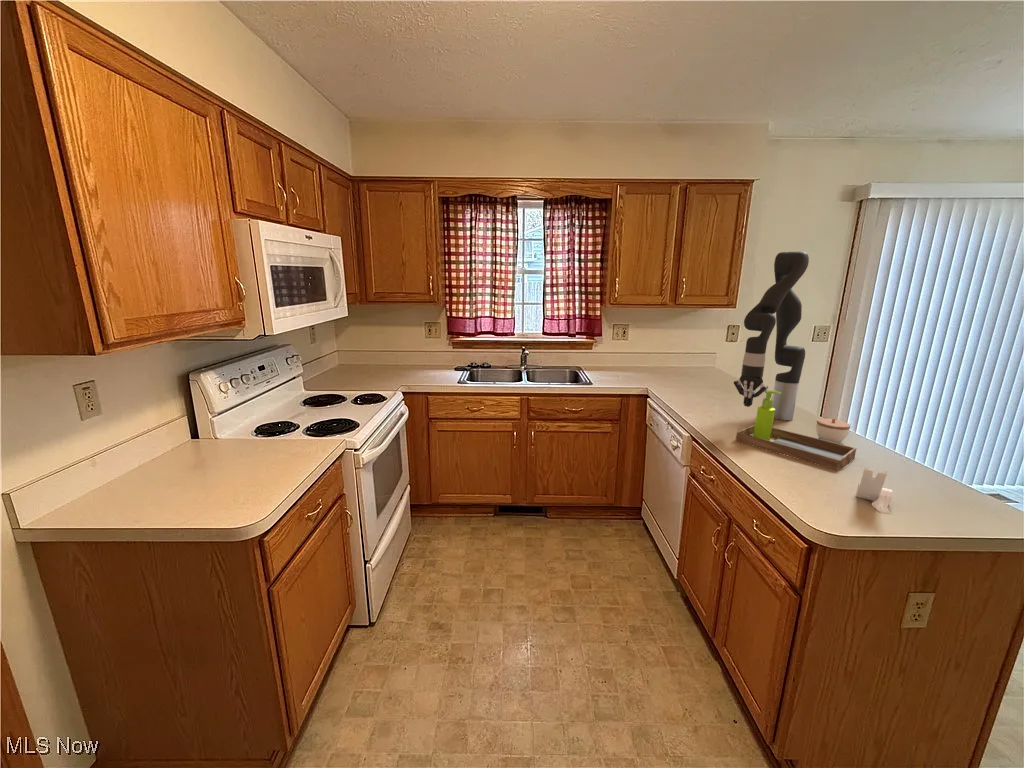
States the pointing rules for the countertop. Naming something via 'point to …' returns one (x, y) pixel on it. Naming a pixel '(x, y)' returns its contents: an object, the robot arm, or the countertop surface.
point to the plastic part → (875, 490)
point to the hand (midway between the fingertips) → (747, 406)
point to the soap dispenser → (765, 417)
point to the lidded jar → (832, 430)
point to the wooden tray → (801, 447)
